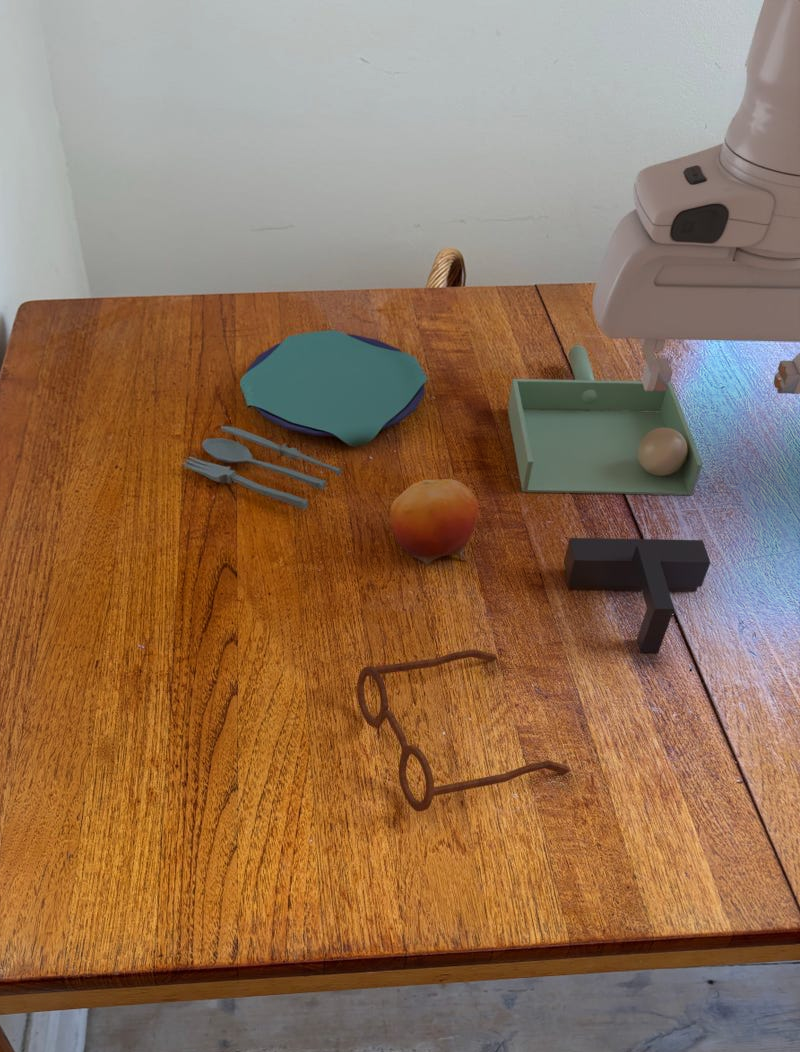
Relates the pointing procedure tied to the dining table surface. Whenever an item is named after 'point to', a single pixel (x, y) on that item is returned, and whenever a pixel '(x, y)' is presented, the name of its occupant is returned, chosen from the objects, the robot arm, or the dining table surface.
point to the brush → (639, 574)
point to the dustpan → (594, 434)
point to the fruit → (434, 518)
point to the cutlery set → (319, 400)
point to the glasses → (414, 750)
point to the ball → (662, 451)
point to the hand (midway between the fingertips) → (719, 388)
